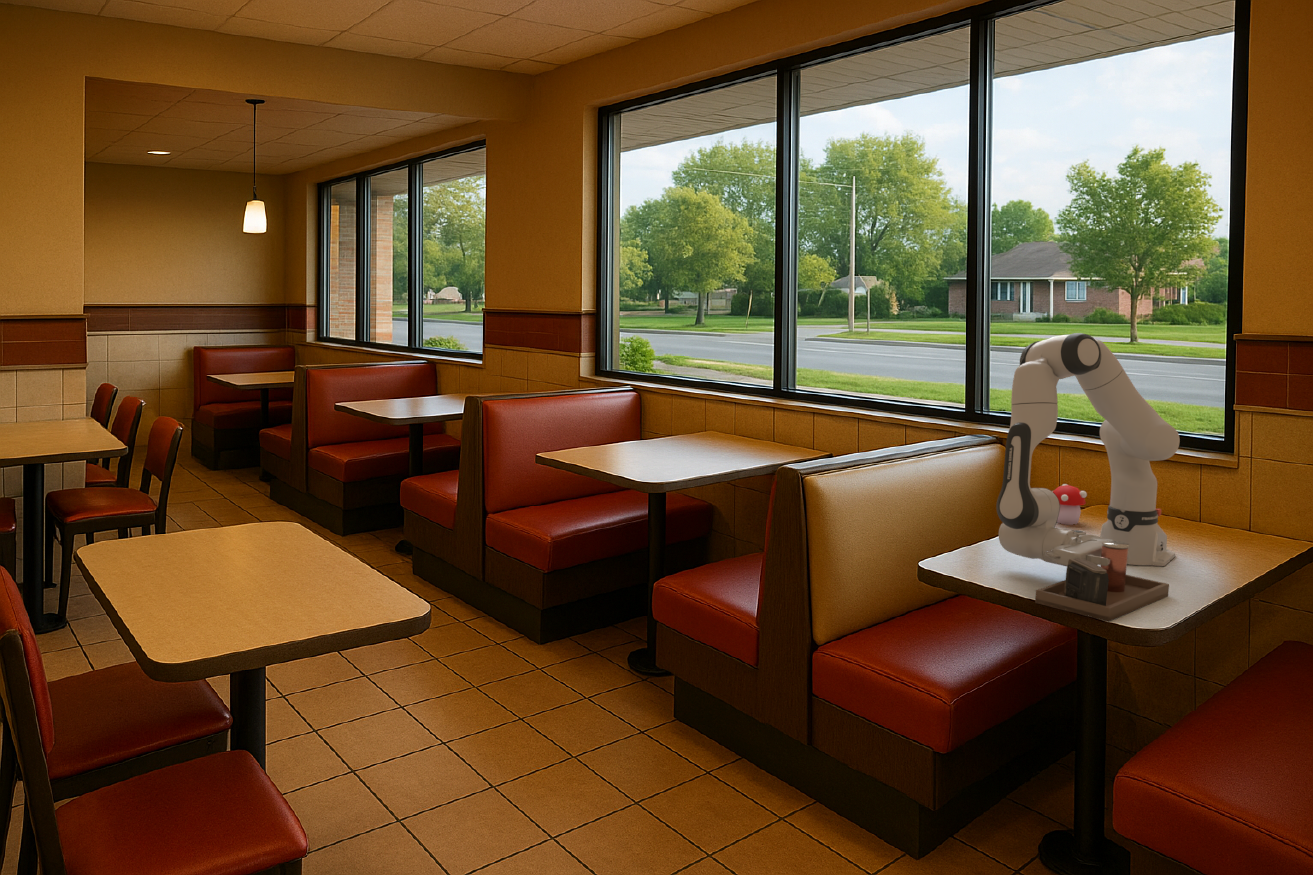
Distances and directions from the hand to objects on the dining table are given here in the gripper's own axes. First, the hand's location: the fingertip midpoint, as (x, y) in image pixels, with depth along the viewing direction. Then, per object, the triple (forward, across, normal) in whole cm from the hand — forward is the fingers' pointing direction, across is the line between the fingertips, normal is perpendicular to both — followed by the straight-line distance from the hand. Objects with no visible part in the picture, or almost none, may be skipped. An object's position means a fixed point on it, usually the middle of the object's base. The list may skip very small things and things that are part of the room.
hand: (1118, 558), depth 230 cm
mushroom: (-46, +65, +9) cm, 80 cm away
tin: (-1, 0, +8) cm, 8 cm away
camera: (0, -16, +9) cm, 18 cm away
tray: (0, -7, +8) cm, 11 cm away
